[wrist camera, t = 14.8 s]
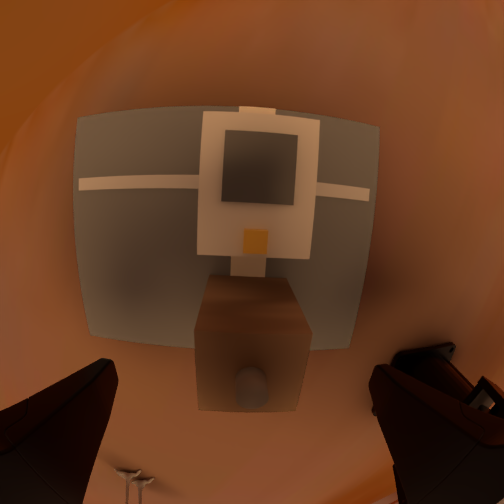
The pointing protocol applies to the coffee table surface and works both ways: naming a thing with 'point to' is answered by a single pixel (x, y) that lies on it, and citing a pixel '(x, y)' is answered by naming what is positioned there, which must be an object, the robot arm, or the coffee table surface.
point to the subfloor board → (185, 226)
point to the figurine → (139, 483)
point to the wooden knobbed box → (250, 345)
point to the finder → (257, 185)
